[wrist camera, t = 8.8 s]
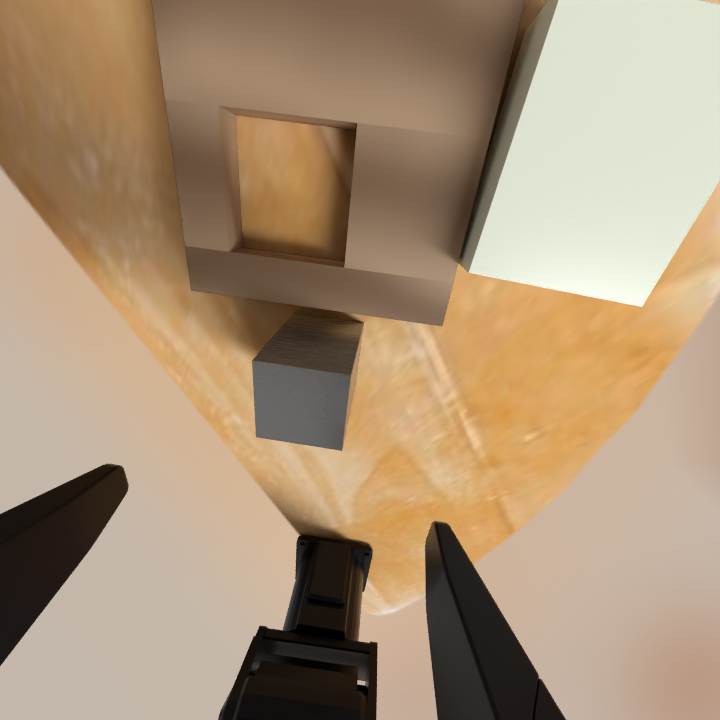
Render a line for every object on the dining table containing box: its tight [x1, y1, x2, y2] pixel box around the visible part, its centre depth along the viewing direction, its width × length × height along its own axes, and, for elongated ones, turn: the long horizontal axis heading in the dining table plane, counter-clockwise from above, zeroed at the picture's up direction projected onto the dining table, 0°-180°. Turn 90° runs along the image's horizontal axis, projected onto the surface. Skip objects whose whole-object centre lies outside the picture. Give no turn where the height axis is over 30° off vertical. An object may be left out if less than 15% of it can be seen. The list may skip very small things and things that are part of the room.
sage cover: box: [458, 0, 720, 307], centre depth 12 cm, size 8×7×4 cm
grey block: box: [252, 313, 364, 451], centre depth 16 cm, size 4×4×6 cm
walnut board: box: [151, 0, 525, 326], centre depth 13 cm, size 14×13×2 cm
